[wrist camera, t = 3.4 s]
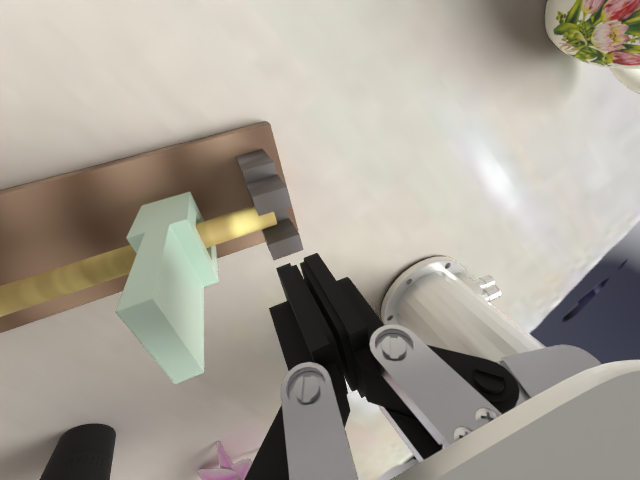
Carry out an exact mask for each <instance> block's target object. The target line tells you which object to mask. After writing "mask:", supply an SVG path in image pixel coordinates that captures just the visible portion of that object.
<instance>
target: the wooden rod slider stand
mask: <svg viewBox="0 0 640 480" xmlns="http://www.w3.org/2000/svg"><path fill="white" fill-rule="evenodd" d="M186 192H191V194H192V196H193V199H194V201H195V203H196V205H197V207H198V209H199V211H200V214H201V216H202V218H203V220H204V222H201V223H198V224H196V229H197V231H198V233H199V235H200V237H201V239H202V241H203V243H204V245H205V247H206V248H208V247H211V246H214V245H215V246H216V254H217V258H220V257H223V256H226V255H229V254H232V253H234V252H237V251H240V250H243V249H246V248H249V247H252V246H255V245H258V244H261V243H264V242H266V243H267V246H268V248H269V251H270V252H271V255H272V257H273V260H276V259H279V258H282V257H285V256H287V255H290V254H293V253H296V252H298V251H301V250H303V246H302V243H301V239H300V235H299V233H298V228H297V224H296V220H295V216H294V213H293V209H292V205H291V201H290V197H289V193H288V190H287V186H286V182H285V178H284V175H283V171H282V167H281V163H280V159H279V156H278V152H277V148H276V144H275V141H274V137H273V133H272V129H271V125H270V124H269V123H268V122H262V123H258V124H255V125H251V126H247V127H243V128H239V129H235V130H231V131H228V132H224V133H220V134H216V135H212V136H208V137H205V138H201V139H197V140H193V141H189V142H185V143H181V144H178V145H174V146H170V147H166V148H162V149H158V150H155V151H151V152H147V153H143V154H139V155H135V156H131V157H128V158H124V159H120V160H116V161H112V162H108V163H105V164H101V165H97V166H93V167H89V168H85V169H81V170H78V171H74V172H70V173H66V174H62V175H58V176H55V177H51V178H47V179H43V180H39V181H35V182H32V183H28V184H24V185H20V186H16V187H12V188H8V189H5V190H1V191H0V333H2V332H5V331H8V330H10V329H13V328H16V327H19V326H22V325H25V324H28V323H31V322H34V321H37V320H40V319H42V318H45V317H48V316H51V315H54V314H57V313H60V312H63V311H66V310H69V309H72V308H74V307H77V306H80V305H83V304H86V303H89V302H92V301H95V300H98V299H101V298H104V297H106V296H109V295H112V294H115V293H118V292H121V291H123V290H124V287H125V284H126V282H127V279H128V276H129V274H130V271H131V268H132V266H133V263H134V260H135V258H136V255H137V254H136V252H135V251H134V249H133V248H132V246H131V245H130V243H129V242H128V240H127V239H126V237H127V235H128V233H129V231H130V229H131V227H132V225H133V223H134V220H135V218H136V216H137V214H138V212H139V210H140V208H141V206H142V205H146V204H149V203H152V202H156V201H159V200H163V199H166V198H169V197H173V196H176V195H180V194H183V193H186Z"/></svg>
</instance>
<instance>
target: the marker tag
mask: <svg viewBox="0 0 640 480" xmlns="http://www.w3.org/2000/svg"><path fill="white" fill-rule="evenodd" d="M201 222H204V220H203V218H202V216H201V214H200V211H199V209H198V207H197V205H196V203H195V201H194V199H193V196H192V194H191V192H186V193H183V194H180V195H176V196H173V197H169V198H166V199H163V200H159V201H156V202H152V203H149V204H146V205H142V206H141V208H140V210H139V212H138V214H137V216H136V218H135V220H134V223H133V225H132V227H131V229H130V231H129V233H128V235H127V237H126V239H127V240H128V242H129V243H130V245H131V246H132V248H133V249H134V251H135V252H136V254H137V255H136V258H135V260H134V263H133V266H132V268H131V271H130V274H129V276H128V279H127V282H126V284H125V287H124V290H123V292H122V295H121V298H120V301H119V303H118V306H117V309H116V311H115V312H116V313H117V315H118V316H119V317H120V318H121V320H122V321H123V322H124V323H125V324H126V326H127V327H128V328H129V329H130V330H131V332H132V333H133V334H134V335H135V337H136V338H137V339H138V340H139V341H140V343H141V344H142V345H143V346H144V347H145V349H146V350H147V351H148V352H149V353H150V355H151V356H152V357H153V358H154V360H155V361H156V362H157V363H158V364H159V366H160V367H161V368H162V369H163V370H164V372H165V373H166V374H167V375H168V377H169V378H170V379H171V380H172V381H173V383H174V384H175V385H176V384H178V383H180V382H183V381H185V380H188V379H190V378H192V377H195V376H197V375H200V374H202V373H204V287H207V286H209V285H212V284H215V283H218V282H219V279H218V267H217V254H216V246H215V245H214V246H211V247H208V248H206V247H205V245H204V243H203V241H202V239H201V237H200V235H199V233H198V231H197V229H196V224H198V223H201Z"/></svg>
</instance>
